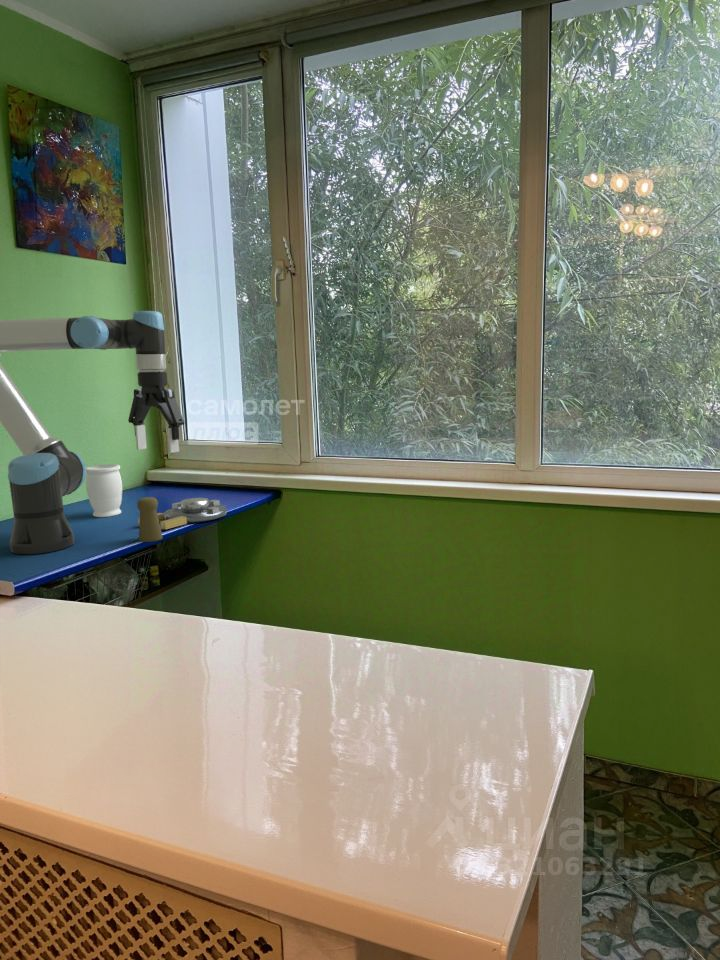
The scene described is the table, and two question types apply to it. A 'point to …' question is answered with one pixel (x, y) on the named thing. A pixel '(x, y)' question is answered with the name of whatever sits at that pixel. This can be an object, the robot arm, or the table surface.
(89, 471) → the jar
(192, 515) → the grey disc with block
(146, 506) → the cork
